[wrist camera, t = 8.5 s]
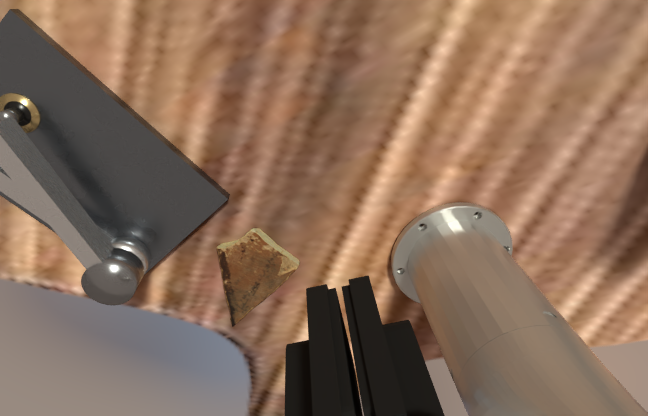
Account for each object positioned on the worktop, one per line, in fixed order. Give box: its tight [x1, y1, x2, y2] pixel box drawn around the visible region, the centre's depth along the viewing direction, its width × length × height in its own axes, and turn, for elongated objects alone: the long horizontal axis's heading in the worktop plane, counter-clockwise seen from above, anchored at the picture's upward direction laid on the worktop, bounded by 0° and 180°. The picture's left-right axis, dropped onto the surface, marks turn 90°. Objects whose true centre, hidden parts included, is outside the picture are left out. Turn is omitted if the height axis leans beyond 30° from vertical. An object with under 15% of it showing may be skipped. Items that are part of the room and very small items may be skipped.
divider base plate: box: [0, 9, 230, 276], centre depth 35 cm, size 21×14×3 cm, turn 41°
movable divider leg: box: [0, 107, 144, 305], centre depth 34 cm, size 18×4×4 cm, turn 21°
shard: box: [217, 228, 300, 326], centre depth 42 cm, size 11×8×2 cm
